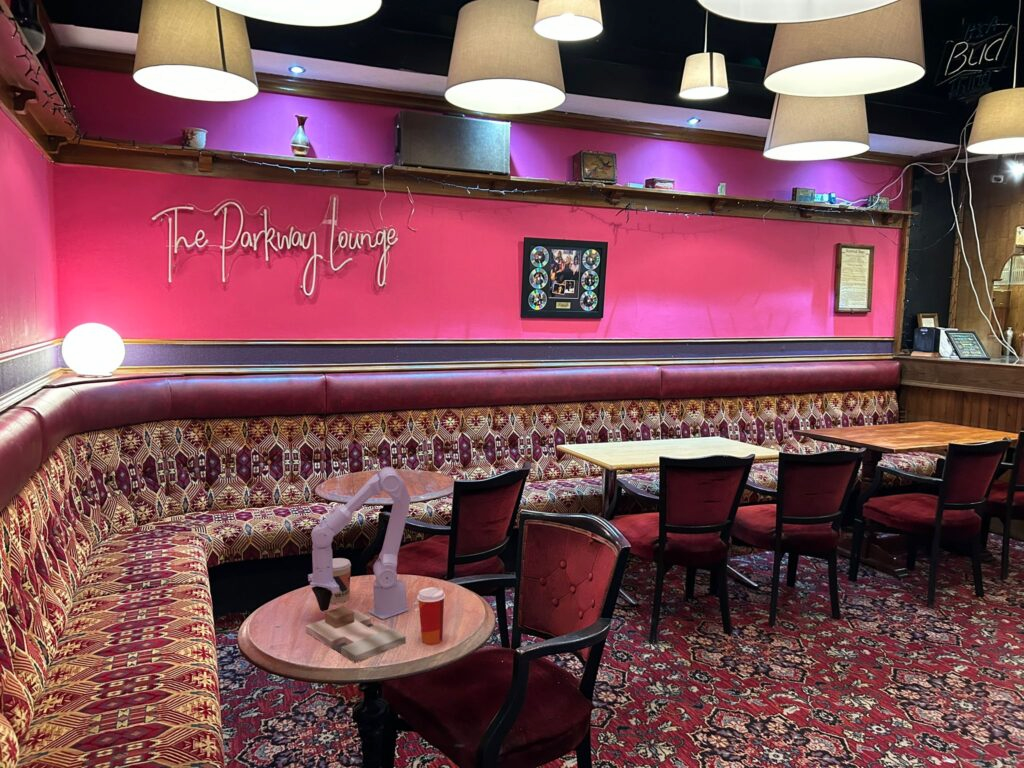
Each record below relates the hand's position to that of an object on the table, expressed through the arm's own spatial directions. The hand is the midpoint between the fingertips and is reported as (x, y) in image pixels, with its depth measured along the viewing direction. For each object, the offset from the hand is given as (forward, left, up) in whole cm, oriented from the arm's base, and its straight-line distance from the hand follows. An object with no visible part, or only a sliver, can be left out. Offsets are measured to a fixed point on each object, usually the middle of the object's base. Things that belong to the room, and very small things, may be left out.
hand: (324, 610), depth 215 cm
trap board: (0, +17, -3) cm, 17 cm away
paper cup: (-14, +34, -3) cm, 36 cm away
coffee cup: (-11, -11, -3) cm, 16 cm away
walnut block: (0, +9, -1) cm, 9 cm away
